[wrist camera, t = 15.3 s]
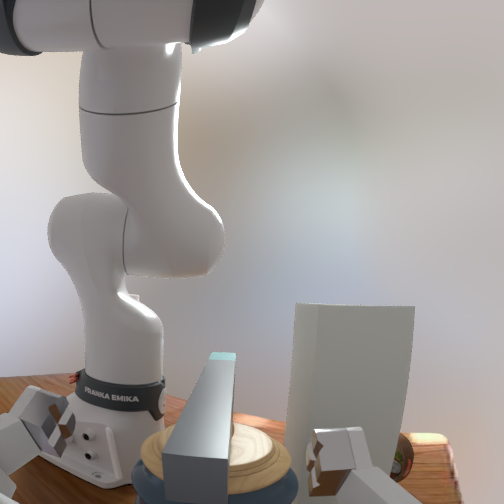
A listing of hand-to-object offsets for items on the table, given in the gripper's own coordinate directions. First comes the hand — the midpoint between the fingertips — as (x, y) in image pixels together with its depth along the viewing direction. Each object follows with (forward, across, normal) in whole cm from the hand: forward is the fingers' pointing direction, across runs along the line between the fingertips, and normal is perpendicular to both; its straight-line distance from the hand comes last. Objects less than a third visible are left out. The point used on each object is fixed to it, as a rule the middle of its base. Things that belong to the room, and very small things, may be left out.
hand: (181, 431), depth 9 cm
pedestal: (+13, -13, +32) cm, 37 cm away
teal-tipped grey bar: (+9, 0, +10) cm, 14 cm away
